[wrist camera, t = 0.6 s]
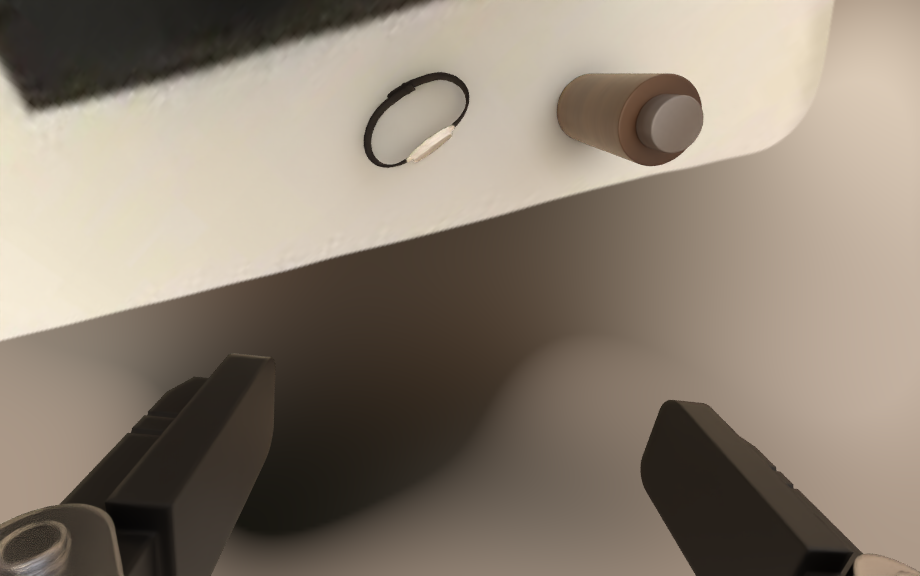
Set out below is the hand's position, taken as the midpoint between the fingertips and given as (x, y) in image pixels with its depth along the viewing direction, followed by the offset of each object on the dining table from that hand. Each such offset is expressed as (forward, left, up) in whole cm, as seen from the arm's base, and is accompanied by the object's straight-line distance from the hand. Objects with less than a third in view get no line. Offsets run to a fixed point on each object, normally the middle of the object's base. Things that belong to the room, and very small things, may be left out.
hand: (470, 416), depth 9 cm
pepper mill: (+9, +8, -26) cm, 29 cm away
